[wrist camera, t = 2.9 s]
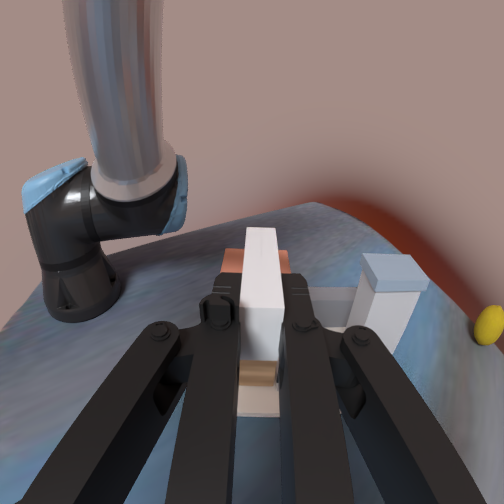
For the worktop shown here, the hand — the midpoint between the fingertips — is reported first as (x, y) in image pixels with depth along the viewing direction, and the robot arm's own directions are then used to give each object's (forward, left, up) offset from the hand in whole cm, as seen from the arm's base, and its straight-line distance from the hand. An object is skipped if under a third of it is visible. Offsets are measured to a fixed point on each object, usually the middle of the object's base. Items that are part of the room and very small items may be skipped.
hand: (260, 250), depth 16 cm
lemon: (+28, +27, -22) cm, 45 cm away
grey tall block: (+8, +12, -20) cm, 25 cm away
